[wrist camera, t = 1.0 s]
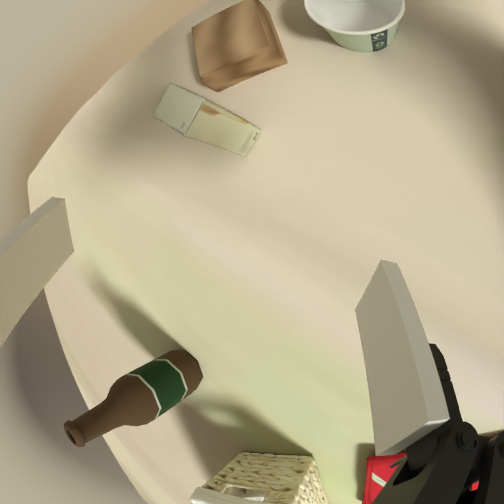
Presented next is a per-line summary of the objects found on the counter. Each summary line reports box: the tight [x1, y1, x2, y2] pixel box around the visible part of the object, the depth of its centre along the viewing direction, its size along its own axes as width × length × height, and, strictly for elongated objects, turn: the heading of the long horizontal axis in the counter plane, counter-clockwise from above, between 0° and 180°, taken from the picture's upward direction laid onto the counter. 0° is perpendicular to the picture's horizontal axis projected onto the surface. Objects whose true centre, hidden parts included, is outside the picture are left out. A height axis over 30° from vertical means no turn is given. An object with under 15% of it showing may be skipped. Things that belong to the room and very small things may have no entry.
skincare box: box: [153, 83, 261, 156], centre depth 32 cm, size 6×4×12 cm
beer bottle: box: [64, 351, 203, 447], centre depth 35 cm, size 8×8×24 cm
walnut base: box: [192, 0, 288, 92], centre depth 33 cm, size 11×11×5 cm
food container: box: [304, 0, 405, 52], centre depth 25 cm, size 12×12×6 cm
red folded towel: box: [362, 453, 479, 504], centre depth 23 cm, size 16×41×4 cm, turn 99°
